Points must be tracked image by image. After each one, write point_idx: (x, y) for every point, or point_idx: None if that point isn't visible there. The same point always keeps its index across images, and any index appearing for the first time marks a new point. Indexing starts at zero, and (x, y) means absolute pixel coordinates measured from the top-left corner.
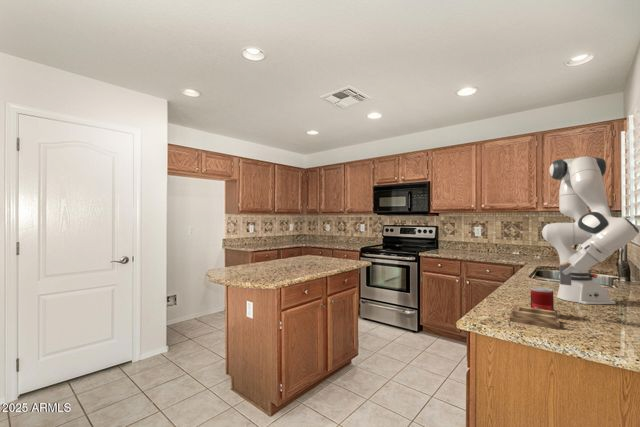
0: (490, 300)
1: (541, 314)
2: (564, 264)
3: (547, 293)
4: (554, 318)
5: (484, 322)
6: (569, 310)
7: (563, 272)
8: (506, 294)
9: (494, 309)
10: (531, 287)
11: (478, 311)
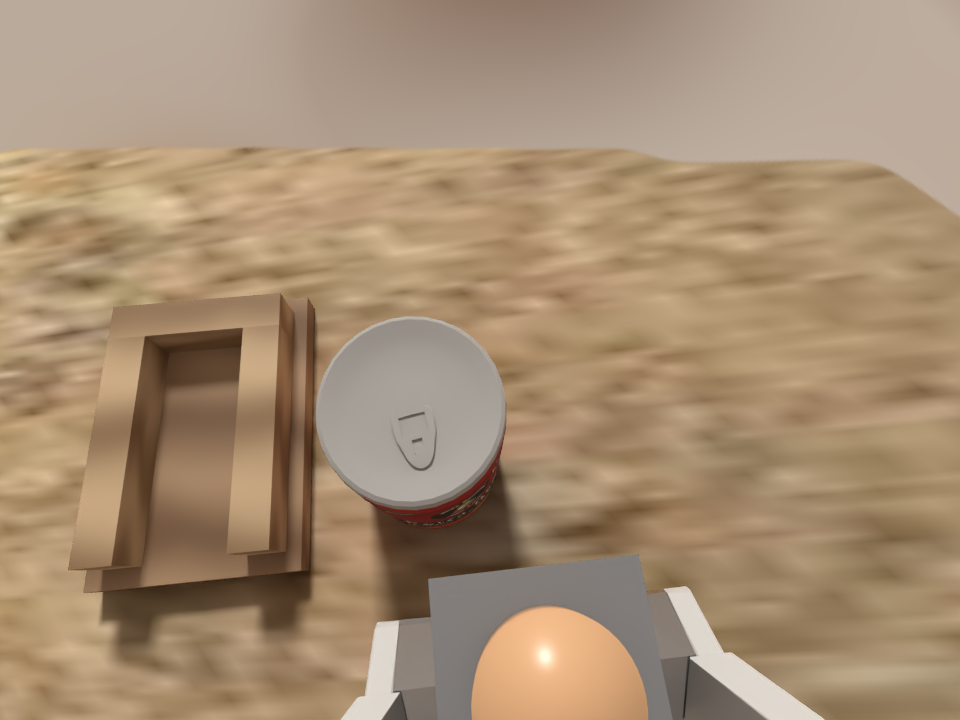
0: (567, 161)
1: (112, 472)
2: (470, 680)
3: (332, 467)
4: (75, 559)
5: (44, 230)
6: None
7: (378, 637)
8: (830, 201)
9: (355, 217)
10: (417, 320)
11: (253, 165)
